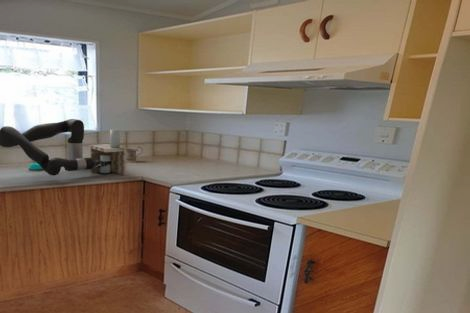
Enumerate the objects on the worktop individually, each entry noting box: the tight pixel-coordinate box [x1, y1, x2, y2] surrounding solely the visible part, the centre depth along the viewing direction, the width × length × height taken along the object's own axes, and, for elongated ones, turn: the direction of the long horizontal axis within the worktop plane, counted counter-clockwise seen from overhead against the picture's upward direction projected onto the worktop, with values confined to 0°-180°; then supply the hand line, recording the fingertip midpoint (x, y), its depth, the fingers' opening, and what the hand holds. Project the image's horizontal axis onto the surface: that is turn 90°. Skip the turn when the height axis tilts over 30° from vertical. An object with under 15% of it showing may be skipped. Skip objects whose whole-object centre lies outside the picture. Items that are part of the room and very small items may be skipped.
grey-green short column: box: [99, 155, 111, 174], centre depth 214 cm, size 6×6×11 cm
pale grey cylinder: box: [109, 129, 121, 148], centre depth 211 cm, size 6×6×11 cm
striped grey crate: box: [89, 143, 127, 176], centre depth 215 cm, size 20×14×18 cm
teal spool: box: [28, 158, 44, 171], centre depth 218 cm, size 10×10×10 cm
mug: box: [126, 146, 144, 164], centre depth 264 cm, size 14×10×12 cm
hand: (108, 161), depth 215 cm, fingers closed on grey-green short column, 6 cm apart
